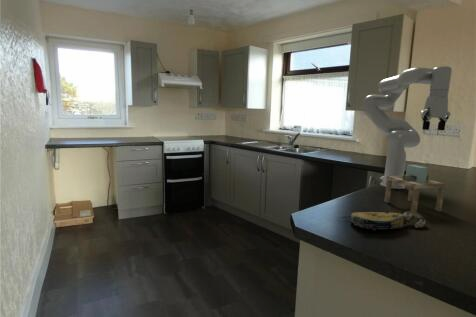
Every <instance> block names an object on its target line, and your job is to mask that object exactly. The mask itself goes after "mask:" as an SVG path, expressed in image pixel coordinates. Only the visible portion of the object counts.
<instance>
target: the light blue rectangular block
mask: <svg viewBox="0 0 476 317" xmlns="http://www.w3.org/2000/svg"><path fill="white" fill-rule="evenodd" d="M428 169H429V167H426V166H421V165H416V164H407V165H406V170H405V175H413V176H417V179H416V181H415V182H416V183H426V177H427V175H428ZM412 182H414V180H413V181H412Z"/></svg>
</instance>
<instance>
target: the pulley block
mask: <svg viewBox="0 0 476 317" xmlns="http://www.w3.org/2000/svg"><path fill="white" fill-rule="evenodd" d="M340 218H342V219H343V218H349V220H350V223H353V225H354V226H355V227H360V228H364V229H367V230H368V229H370V230H373V231H376V230H396V229H402V228H405V226H404V225H408V224H409V223H410V222H411V221H415V223H414V225H413V226H414V228H415V229H418V228H425V227H426V225H427V224H428V223H427V221H426V218H425V217H424V216H423V215H421V214H420V213H418V212H412V211H411V210H409V211H405V212H404V213H398V212H390V211H389V210H386V211H385V212H383V211H382V212H381V211H379V212H377V211H375V212H374V211H364V212H363V211H362V212H360V211H358V212H352V213H351V214H350V216H349V215H348V216H340Z"/></svg>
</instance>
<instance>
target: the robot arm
mask: <svg viewBox="0 0 476 317" xmlns="http://www.w3.org/2000/svg"><path fill="white" fill-rule="evenodd" d="M452 69H453V68H452V67H451V66H446V65H442V66H436V67H434V68H427V67H413V68H409V69H405V70H404V71H402V72H401V73H400V74H397V75H394V76H391V77H387V78H384V79H382V80H381V81H379V83H378V85H377V88H378V91H379V92H380V93H382V94H369V95H367V96H366V97H364V99H363V101H362V109H363V110H362V111H363V112H364V115H365V116H366V117H368V119H369V120H370V121H371V122H372V123H373V124H374V125H375V126H376V128H377V129H378V131H379V132H380V133H382V134H383V135H387V136H386V147H387V148H386V151H387V152H386V160H385V161H386V162H385V168H384V175H382V176H380V177H379V180H381V182H380V184H379V185H380V186H382V187H385V188H386V183H387V176H403V175H405V169H406V161H407V160H406V159H407V153H406V150H405V148H416V147H417V146H418V145H420V142H421V136H420V134H419V133H418V131H417V130H416V129H415V128H414V127H413V126H412V125H411V124H410V123H409V122H408V121H406V120H404V119H402V118H393V117H390V116H389V115H388V114H387V112H386V111H384V110H389V109H391V108H392V107H393V105H395V103H396V102H397V101H398V99H399V98H400V97H401V95H402V94H403V92H404V91H405V90H407V89H408V88H409V87H410V85H412V84H421V85H423V84H424V85H430V86H429V93H428V94H429V95H428V96H427V98H426V100H425V103H424V108H423V110H421V111H420V116H421V119H422V120H421V121H422V122H423V123H422V129H421V130H423V131H424V130H426V131H430V125H431V121H430V120H431V119H432V118H433V119H438V120H439V121H438V123H437V131H445V129H446V123H447V122H448V120H449V118H450V116H451V112H449V110H448V108H449V92H450V84H451V78H452V73H453V72H452V71H453V70H452ZM391 189H394V190H396V189H397V190H403V189H406V185H404V184H401V183H397V182H394V181H392V186H391Z"/></svg>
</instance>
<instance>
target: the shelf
mask: <svg viewBox="0 0 476 317" xmlns="http://www.w3.org/2000/svg"><path fill="white" fill-rule="evenodd" d="M416 179H417V176H413V175H406V174H404V175H403V176H387V183H386V187H385V193H384V198H383V199H384V203H386V204H387V203H390V200H391V193H392V188H391V186H392V181H394V182H397V183H401V184H403V185H405V186H407V187H408V193H407V201H409V202H411V207H410V211H412V212H416V213H418V205H419V197H420V191H421V189H434V188H435V189H436V188H438V189H437V197H436V203H435V209H434V211H436V212H442V209H443V201H444V196H445V190H446V189H445V188H446V183H444V182H440V181H436V180H432V179H430V178H429V175H428V174H427V177H426V183H416ZM413 180H414V182H412V181H413Z"/></svg>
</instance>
